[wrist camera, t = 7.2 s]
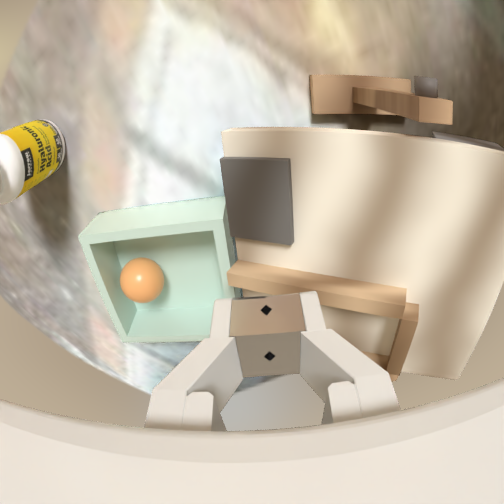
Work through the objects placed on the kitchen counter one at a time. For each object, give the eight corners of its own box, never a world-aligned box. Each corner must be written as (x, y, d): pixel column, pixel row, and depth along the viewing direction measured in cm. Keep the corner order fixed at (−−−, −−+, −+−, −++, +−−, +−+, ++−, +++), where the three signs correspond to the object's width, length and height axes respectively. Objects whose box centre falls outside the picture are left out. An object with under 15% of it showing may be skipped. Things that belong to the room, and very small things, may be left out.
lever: (496, 136, 15) (545, 172, 9) (455, 317, 24) (456, 397, 17) (269, 114, 22) (205, 137, 16) (281, 286, 31) (240, 351, 24)
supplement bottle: (76, 160, 23) (8, 205, 15) (36, 184, 24) (-29, 232, 16) (54, 106, 21) (-23, 131, 12) (15, 135, 21) (-57, 169, 13)
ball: (123, 280, 23) (107, 262, 26) (139, 319, 25) (121, 298, 28) (166, 259, 25) (145, 244, 28) (177, 297, 27) (156, 279, 30)
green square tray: (226, 195, 26) (223, 218, 22) (242, 306, 31) (242, 338, 28) (99, 212, 26) (78, 236, 22) (134, 312, 32) (122, 342, 28)
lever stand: (404, 78, 20) (494, 90, 11) (386, 300, 32) (424, 380, 22) (309, 73, 21) (358, 70, 11) (314, 309, 32) (335, 398, 22)
